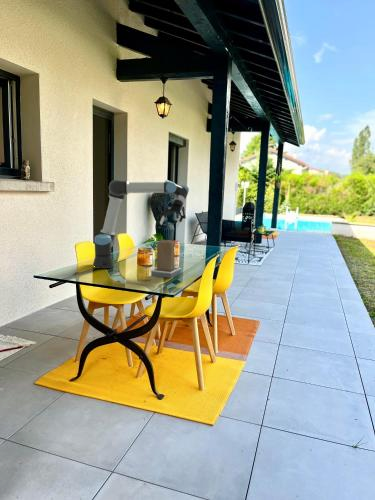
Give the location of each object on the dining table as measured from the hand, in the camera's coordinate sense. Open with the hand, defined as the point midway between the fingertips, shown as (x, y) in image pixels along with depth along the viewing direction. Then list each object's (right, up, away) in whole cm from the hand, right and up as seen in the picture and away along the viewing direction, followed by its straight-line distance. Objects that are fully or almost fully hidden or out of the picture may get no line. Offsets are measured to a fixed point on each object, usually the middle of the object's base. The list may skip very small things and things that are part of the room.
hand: (169, 224), depth 270 cm
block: (-2, -32, -13) cm, 35 cm away
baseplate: (-1, -35, -13) cm, 37 cm away
